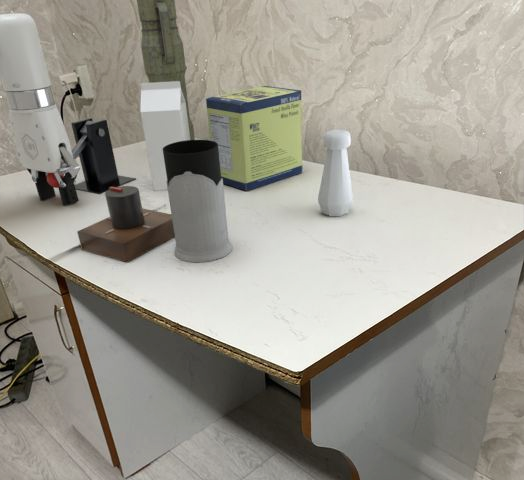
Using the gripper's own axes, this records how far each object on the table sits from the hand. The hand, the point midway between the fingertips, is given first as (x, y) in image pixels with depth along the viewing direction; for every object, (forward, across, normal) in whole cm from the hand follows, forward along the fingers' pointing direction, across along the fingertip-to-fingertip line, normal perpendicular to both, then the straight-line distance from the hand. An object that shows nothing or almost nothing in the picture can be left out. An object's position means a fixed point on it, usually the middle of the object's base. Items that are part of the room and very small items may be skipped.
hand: (60, 203), depth 101 cm
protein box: (+1, +25, +30) cm, 39 cm away
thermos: (+1, -2, +36) cm, 36 cm away
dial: (-3, +25, -6) cm, 26 cm away
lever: (-6, 0, +6) cm, 9 cm away
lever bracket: (+1, 0, +11) cm, 11 cm away
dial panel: (+1, +25, -6) cm, 26 cm away
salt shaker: (+1, +48, +19) cm, 52 cm away
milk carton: (+1, +14, +17) cm, 22 cm away
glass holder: (+1, +36, -1) cm, 36 cm away
